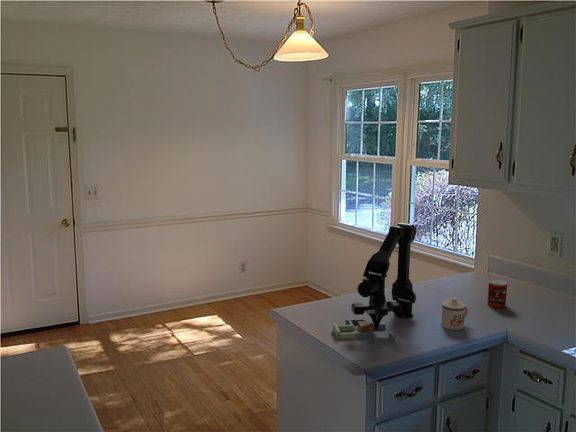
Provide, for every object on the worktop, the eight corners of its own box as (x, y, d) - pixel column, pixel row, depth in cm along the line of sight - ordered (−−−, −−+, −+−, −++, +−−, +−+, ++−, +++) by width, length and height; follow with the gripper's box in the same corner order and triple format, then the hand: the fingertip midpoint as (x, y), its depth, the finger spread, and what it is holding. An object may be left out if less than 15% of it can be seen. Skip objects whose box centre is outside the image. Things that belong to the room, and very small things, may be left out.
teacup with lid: (451, 332, 212) (453, 303, 210) (436, 324, 220) (437, 296, 218) (474, 327, 217) (476, 299, 215) (458, 319, 225) (460, 292, 223)
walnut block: (370, 330, 213) (370, 320, 213) (373, 335, 209) (373, 325, 208) (357, 331, 213) (357, 321, 212) (360, 336, 208) (361, 326, 207)
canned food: (486, 307, 240) (488, 283, 238) (487, 301, 247) (489, 278, 245) (505, 309, 237) (507, 285, 235) (505, 303, 244) (507, 280, 242)
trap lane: (381, 322, 222) (381, 315, 221) (395, 342, 202) (396, 335, 201) (330, 324, 219) (330, 317, 219) (340, 345, 200) (340, 337, 199)
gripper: (358, 298, 199) (357, 338, 202) (407, 296, 201) (405, 336, 204) (351, 288, 210) (350, 327, 213) (398, 287, 212) (396, 325, 215)
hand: (375, 329), depth 211 cm, fingers closed
